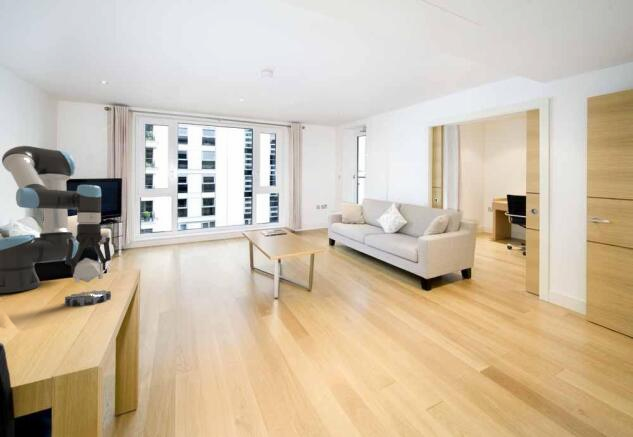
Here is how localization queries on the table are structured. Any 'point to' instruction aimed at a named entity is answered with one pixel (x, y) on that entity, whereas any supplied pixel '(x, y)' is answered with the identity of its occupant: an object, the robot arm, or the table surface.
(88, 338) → the table surface
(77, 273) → the die
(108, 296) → the gear plate
